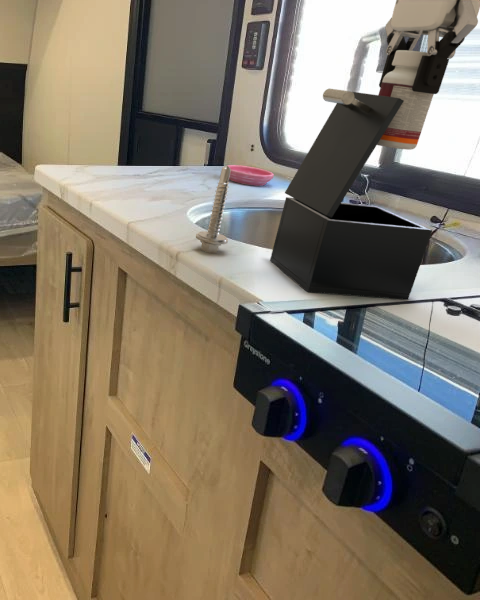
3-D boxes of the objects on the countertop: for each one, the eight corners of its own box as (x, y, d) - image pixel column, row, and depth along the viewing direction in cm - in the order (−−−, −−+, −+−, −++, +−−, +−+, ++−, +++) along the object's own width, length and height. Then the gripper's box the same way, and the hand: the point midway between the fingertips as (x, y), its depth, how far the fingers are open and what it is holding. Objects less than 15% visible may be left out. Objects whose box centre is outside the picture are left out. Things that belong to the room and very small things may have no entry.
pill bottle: (363, 140, 81) (389, 51, 77) (413, 148, 79) (442, 56, 75) (364, 144, 76) (392, 48, 72) (417, 152, 74) (450, 54, 70)
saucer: (272, 189, 149) (275, 177, 148) (222, 181, 151) (224, 169, 150) (269, 181, 160) (272, 169, 159) (223, 174, 162) (225, 162, 161)
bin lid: (348, 93, 82) (318, 76, 80) (404, 100, 70) (369, 81, 69) (288, 195, 87) (259, 180, 85) (331, 218, 75) (298, 201, 74)
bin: (358, 268, 92) (378, 206, 89) (408, 300, 81) (432, 230, 77) (269, 260, 90) (285, 197, 87) (307, 292, 79) (328, 220, 75)
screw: (190, 251, 90) (196, 243, 94) (222, 258, 89) (226, 249, 93) (208, 164, 85) (213, 160, 89) (242, 170, 84) (245, 166, 88)
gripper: (548, -84, 61) (483, 100, 68) (437, -58, 77) (393, 89, 84) (483, -96, 60) (423, 92, 67) (384, -67, 76) (343, 83, 83)
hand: (407, 89), depth 75 cm, fingers closed on pill bottle, 6 cm apart
